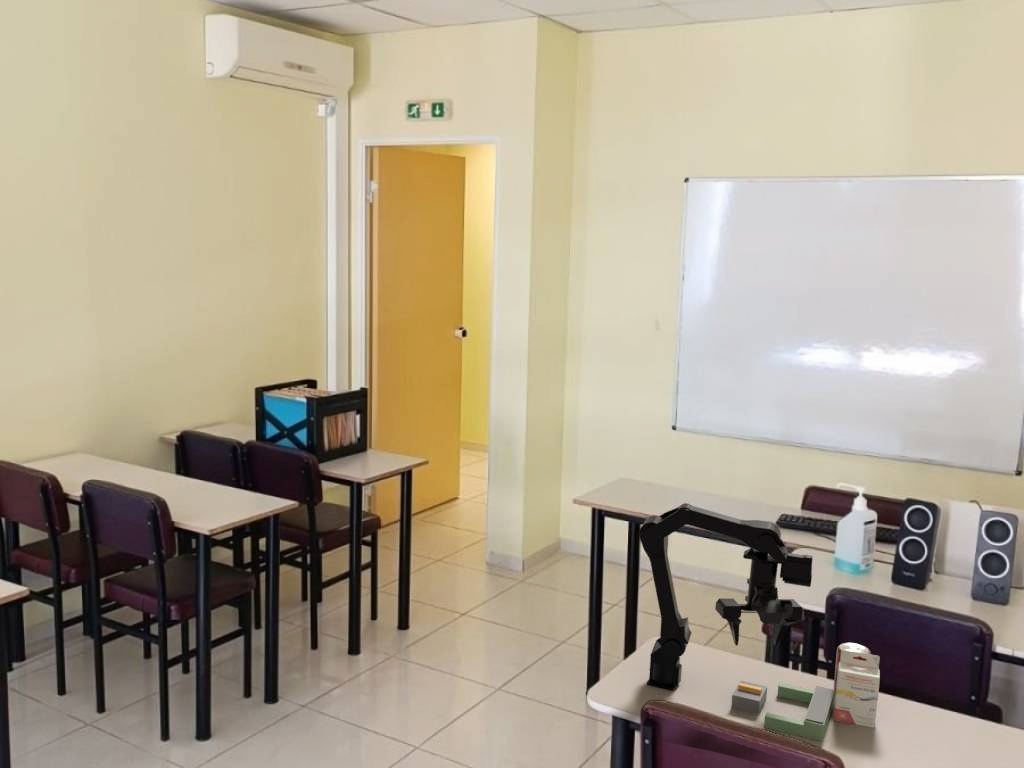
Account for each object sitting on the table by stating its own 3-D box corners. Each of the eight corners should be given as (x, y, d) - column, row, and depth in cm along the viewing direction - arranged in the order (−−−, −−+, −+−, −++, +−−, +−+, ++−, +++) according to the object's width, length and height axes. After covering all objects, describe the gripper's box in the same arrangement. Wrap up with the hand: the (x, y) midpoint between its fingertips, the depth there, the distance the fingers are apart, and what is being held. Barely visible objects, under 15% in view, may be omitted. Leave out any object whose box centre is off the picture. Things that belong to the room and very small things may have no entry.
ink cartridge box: (833, 721, 210) (839, 657, 208) (833, 710, 215) (839, 648, 212) (875, 728, 207) (881, 664, 205) (874, 718, 212) (880, 654, 210)
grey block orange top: (731, 709, 214) (732, 690, 214) (739, 694, 221) (741, 676, 221) (758, 716, 212) (759, 696, 211) (766, 701, 219) (767, 682, 218)
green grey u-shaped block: (764, 727, 206) (765, 710, 206) (778, 692, 222) (780, 677, 222) (822, 741, 201) (823, 724, 201) (833, 704, 217) (834, 688, 217)
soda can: (868, 708, 216) (873, 657, 215) (835, 703, 218) (839, 653, 216) (863, 693, 223) (868, 644, 222) (831, 689, 225) (835, 640, 223)
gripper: (735, 592, 206) (728, 660, 209) (818, 593, 209) (810, 661, 211) (717, 573, 217) (711, 638, 220) (796, 574, 220) (789, 639, 222)
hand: (755, 644), depth 218 cm, fingers open, 9 cm apart
